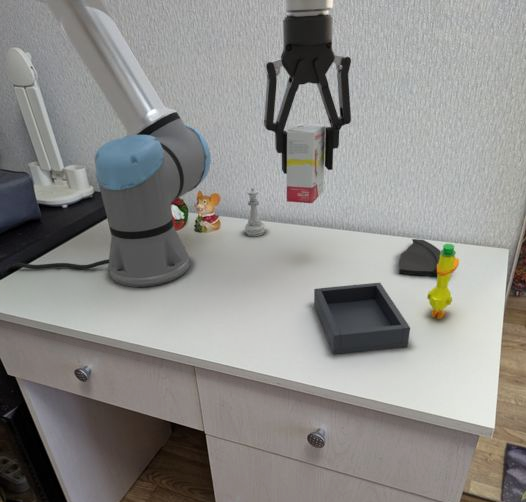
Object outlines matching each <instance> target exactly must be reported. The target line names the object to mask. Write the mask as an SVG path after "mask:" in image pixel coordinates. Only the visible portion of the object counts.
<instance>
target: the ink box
mask: <svg viewBox="0 0 526 502" xmlns="http://www.w3.org/2000/svg"><path fill="white" fill-rule="evenodd" d="M326 127H327V124H321V123H319V124H318V123H308V122H307V123H305V122H300V123H298V124H296V125H294V126H291V127H289V128H287V131H286V132H287V174H286V202H287V203H300V204H301V203H303V204H313V203H314V202H315V201H316V200H317V199H318V198H319V197H320V196H321V195H322V194H323V193H324V187H325V186H324V183H325V182H324V181H325V135H326Z"/></svg>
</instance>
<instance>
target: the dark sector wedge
mask: <svg viewBox="0 0 526 502" xmlns="http://www.w3.org/2000/svg"><path fill="white" fill-rule="evenodd" d="M411 241H412V244H410V245H409V246H408V247H407V249H405V250H404V251H402V253H400V257H399V263H398V269H399V271H398V272H399V274H406V275H416V276H434V277H437V275H438V273H437V264H438V263H439V258H440V251H441V250H440V249H439V248H438V247H436V246H435V245H433V244H432V243H430V242H429V241H427V240H424V239H417V238H411Z"/></svg>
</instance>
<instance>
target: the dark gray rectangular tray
mask: <svg viewBox="0 0 526 502" xmlns="http://www.w3.org/2000/svg"><path fill="white" fill-rule="evenodd" d="M313 289H314V291H313V292H314V293H313V307H314V309H315V312H316V314H317V317H318V319H319V322H320V324H321V328H322V330H323V332H324V335H325V337H326V340H327V342H328V343H327V344H328V345H329V348H330V350H331V353H332V355H341V354H351V353H352V354H353V353H361V352H368V351H369V352H370V351H379V350H389V349H398V348H407V347H408V346H409V339H410V332H411V326H410V324H409V323H408V322H407V320H406V319H405V318H404V316H403V314H402V313H401V312H400V310H399V308H398V307H397V305H396V304H395V302H394V301H393V300H392V298H391V297H390V295H389V294H388V292H387V291H386V289H385V287H384V286H383V284H382V283H381V282H372V283H371V282H370V283H369V282H368V283H360V284H349V285H337V286H329V287H328V286H327V287H319V288H313Z"/></svg>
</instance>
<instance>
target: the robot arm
mask: <svg viewBox="0 0 526 502" xmlns="http://www.w3.org/2000/svg"><path fill="white" fill-rule="evenodd" d="M36 2H40V3H43V4H46V6H47V7H48V9H49V10H50V12H51V14H52V15H53V17H54V19H55V20H56V21H57V23H58V25H59V26H60V28H61V29H62V31H63V33H64V34H65V36H66V37H67V39H68V40H69V42H70V44H71V45H72V47H73V48H74V50H75V51H76V53H77V55H78V56H79V58H80V59H81V61H82V63H83V64H84V66H85V67H86V69H87V70H88V72H89V74H91V77H92V79H93V80H94V81H95V83H96V84H97V86H98V88H99V89H100V91H101V93H102V94H103V96H104V97H105V99H106V100H107V102H108V103H109V105H110V107H111V108H112V110H113V111H114V113H115V114H116V116H117V118H118V119H119V121H120V123H121V124H122V125H123V127H124V129H125V130H126V136H123V137H121V138H115V139H112V140H110V141H108V142H105V143H104V144H103V145H101V146H100V147H99V148H98V149H97V150H96V151H95V155H94V166H95V167H94V168H95V176H96V181H97V184H98V186H99V191H100V195H101V199H102V204H103V207H104V211H105V215H106V220H107V225H108V227H109V231H110V236H111V237H110V250H109V256H108V257H109V258H108V259H104V260H100V261H95V262H92V263H87V264H77V263H70V262H69V263H68V262H54V263H43V264H42V263H41V264H32V263H31V264H30V263H24V262H13V263H14V266H8V265H7V266H6V267H5V269H4V272H9V271H11V270H12V269H13V268H16V267H17V268H25V269H29V270H30V269H31V270H41V269H52V268H53V269H54V268H71V269H77V270H88V269H93V268H96V267H100V266H104V265H108V269H109V274H110V278H111V279H112V280H113V281H114V282H116V283H117V284H119V285H122V286H127V287H133V288H135V287H136V288H144V287H146V288H147V287H153V286H159V285H163V284H166V283H170V282H172V281H174V280H177V279H178V278H180V277H182V276H183V275H184V274H186V273H187V272H188V270H189V269H190V268H189V267H190V258H189V253H188V252H187V250H186V248H185V245H184V243H183V241H182V240H181V238H180V236H179V234H178V231H177V230H176V228H175V223H174V218H173V217H174V216H173V211H172V203H173V202H174V201H176V200H177V199H179V198H181V197H183V196H185V194H187V193H189V192H191V191H193V190H194V189H196V188H198V186H199V185H200V184H201V183H202V182H204V180H205V179H206V177H207V176H208V174H209V172H210V168H211V162H212V161H211V160H212V159H211V157H212V156H211V150H210V147H209V144H208V142H207V140H206V138H205V137H204V135H203V134H202V133H201V132H200V131H199V130H198V129H196V128H195V127H194V128H193V127H192V126H189V125H187V124H185V123H184V122H183V120H182V118H181V116H180V115H179V113H178V111H177V110H176V109H172V108H169V107H167V106H165V105H164V104H163V102H162V100H161V98H160V96H159V95H158V94H157V93H158V92H157V91H156V90H155V89H154V87H153V85H152V82H150V80H149V78H148V77H147V75H146V73H145V72H144V69H143V68H142V66H141V65H140V63H139V61H138V60H137V58H136V56H135V55H134V53H133V51H132V49H131V48H130V47H129V45H128V43H127V41H126V39H125V38H124V36H123V34H122V33H121V31H120V30H119V28H118V26H117V24H116V23H115V21H114V20H113V18H112V16H111V14H110V12H109V11H108V9H107V7H106V6H105V4H104V3H103V1H102V0H36ZM333 8H334V0H282V11H283V12H284V13H286V16H284V19H282V32H283V33H282V35H283V36H282V39H283V40H282V41H283V43H282V44H283V49H282V53H281V55H280V57H279V58H277V59H274V60H271V61H270V60H266V61H265V62H264V69H265V70H264V71H265V75H266V90H265V101H264V102H265V103H264V118H263V125H264V128H265V129H266V130H267V131H271V132H273V133H274V142H275V143H274V144H275V145H274V147H275V150H276V153H277V154H281V171H282V172H283V175H287V131H286V130H285V129H286V128H285V127H286V125H287V121H288V119H289V115H290V112H291V110H292V106H293V104H294V101H295V98H296V97H295V96H296V93H297V91H298V90H299V87H300V86H301V85H306V84H308V83H310V84H316V86H317V88H318V91H319V95H320V98H321V100H322V104H323V108H324V110H325V114H326V116H327V119H328V122H329V125H330V126H326V135H325V163H324V168H326V169H327V170H328V171H333V170H334V169H333V167H334V149H338V148H339V146H340V130H341V129H342V127H343V126H345V125H350V123H351V122H352V113H351V98H350V97H351V96H350V81H349V72H350V68H351V64H352V59H351V57H350V56H346V55H336V54H335V52H334V49H333V25H334V24H333V22H334V19H333V18H334V17H333V16H332V14H329V13H330V11H331V10H332V9H333ZM333 64H334V69H335V71H336V79H337V93H338V103H339V104H338V106H339V107H338V108H339V115H338V112H337V108H336V105H335V103H334V99H333V96H332V93H331V90H330V87H329V82H328V79H327V75H326V74H327V73H328V72H329V70H330V68H331V67H332V65H333ZM282 67H283V69H284V70H285V71H286V73H287V74H288V80H287V83H286V88H285V92H284V95H283V97H282V101H281V104H280V107H279V110H278V113H277V116H276V121H275V122H274V120H275V107H276V95H277V82H278V81H277V79H278V77H277V76H279V75H280V72H281V68H282Z"/></svg>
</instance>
